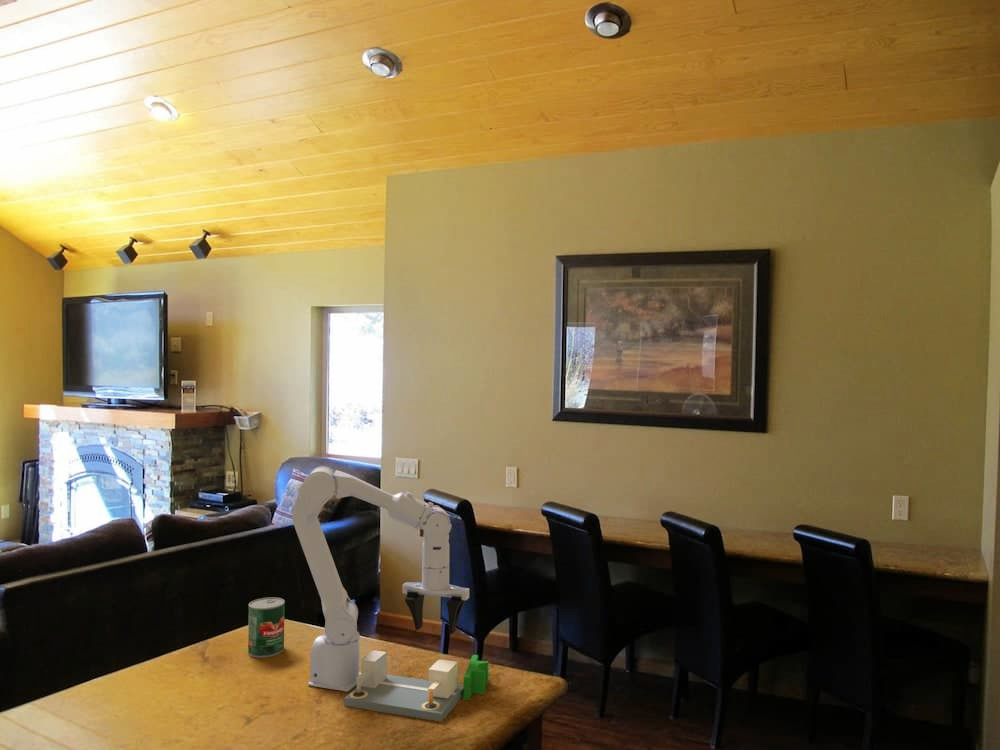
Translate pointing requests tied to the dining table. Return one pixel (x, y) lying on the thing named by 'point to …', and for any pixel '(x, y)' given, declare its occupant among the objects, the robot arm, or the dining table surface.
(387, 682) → the plate
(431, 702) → the block
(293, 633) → the dining table surface
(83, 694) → the dining table surface
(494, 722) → the dining table surface
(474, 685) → the pipe clamp
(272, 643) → the canned tomato
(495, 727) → the dining table surface
